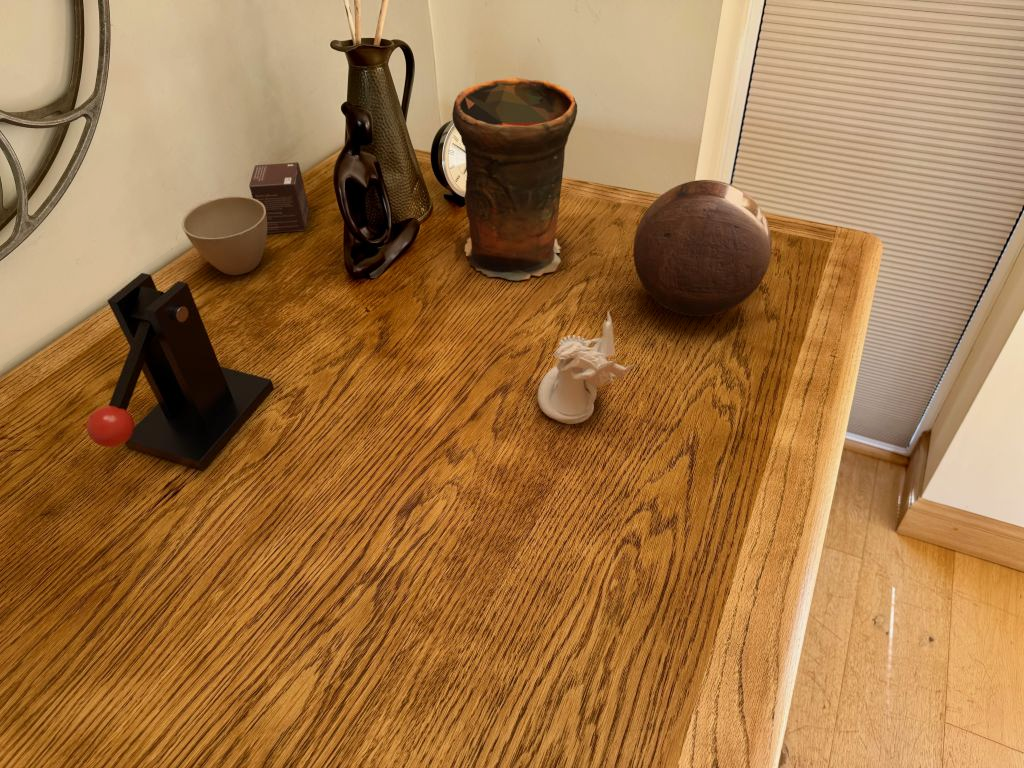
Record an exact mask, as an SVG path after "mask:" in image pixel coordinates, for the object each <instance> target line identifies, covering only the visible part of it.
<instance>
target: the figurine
mask: <svg viewBox="0 0 1024 768" xmlns="http://www.w3.org/2000/svg"><path fill="white" fill-rule="evenodd" d="M606 315H607V316H606V317H607V318H606V319H607V320H606V319H604V321H603V324H602V331H601V332H602V337H595V338H591V339H587V340H586V339H585V338H584V337H582V336H581V335H577V338H576V335H575V334H572V337H571V335H567V337H566V336H564V337H562V339H560V340H559V343H558V345H559V347H558V348H557V349H556V350H555V352H554V353H553V356H554V358H555V359H556V360H558V361H559V362H557V363H556V364H555V365H554V366H553V367H552V368H550V370H549V371H547V372H546V373H545V374H544V376H543V378H542V379H541V381H540V383H539V386H538V390H537V403H538V406H539V408H540V410H541V411H542V412H543V414H545V415H546V416H547V417H549V418H550V419H553V420H555V421H557V422H560V423H562V424H568V425H573V424H580V423H583V422H585V421H586V420H588V419H589V418H590V417H592V415H593V413H594V410H595V407H594V406H595V403H594V402H595V401H596V398H597V394H598V387H601V386H602V385H604V384H607V385H610V384H611V383H613V382H615V380H614V377H616V378H617V379H618V380H619V382H620V383H621V382H622V381H623V378H624V377H625V376H626V375H627V374H628V372H629V371H630V370H631V369H632V368H633V367H635V365H636V363H632V364H631V365H628V366H623V365H621V364H618V363H617V355H616V347H615V335H614V327H613V322H612V317H611V315H610V312H609V311H608V310H607V314H606ZM581 337H582V338H581ZM590 344H594V345H592V347H589V345H590ZM608 357H614V359H613V360H609V361H608V359H607V358H608Z"/></svg>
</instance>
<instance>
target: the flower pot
mask: <svg viewBox="0 0 1024 768" xmlns="http://www.w3.org/2000/svg"><path fill="white" fill-rule="evenodd" d="M181 228H182V230H183V232H184V234H185V236H186V237H187V238H188V240H189V242H190V243H191V244H192V246H193V247H194V249H195V250H196V251H197V252H198V253H199V255H201V256H202V258H204V260H206V261H207V262H208V263H209V264H210V265H211V266H213V267H214V268H215V269H217V270H218V271H220V272H221V273H223V274H226V275H229V276H239V275H244V274H248V273H250V272H251V271H253V270H255V269H256V268H258V266H259V264H260V263H261V261H262V258H263V255H264V252H265V248H266V243H267V238H268V233H267V216H266V209H265V206H264V205H263V204H262V203H261V202H260V201H258V200H256V199H254V198H252V197H250V196H246V195H245V196H244V195H229V196H221V197H217V198H212V199H209V200H206V201H204V202H202V203H199V204H198V205H195V206H194V207H192V208H191V209H190V210H189V211H188V212H186V214H185V215H184V216H183V218H182V220H181Z"/></svg>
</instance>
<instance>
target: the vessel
mask: <svg viewBox="0 0 1024 768" xmlns="http://www.w3.org/2000/svg"><path fill="white" fill-rule="evenodd" d="M577 114H578V104H577V101H576V98H575V97H574V96H573V95H572V93H571V92H570V91H568V90H567V89H566V88H564V87H563V86H560V85H559V84H555V83H551V82H550V81H548V80H539V79H534V80H529V79H526V78H525V79H524V78H520V77H513V78H504V79H493V80H490V81H485V82H482V83H479V84H475V85H472V86H470V87H468V88H465V89H463V90H462V91H461V92H459V93H458V95H457V96H456V98H455V101H454V102H453V108H452V115H451V116H452V123H453V125H454V127H455V129H456V131H457V132H458V134H459V136H460V139H461V143H462V145H463V146H464V150H465V151H464V152H465V168H466V179H465V193H464V203H465V213H466V215H467V218H468V223H469V225H468V226H469V236H470V237H469V238H468V239H466V243H465V245H464V252H465V256H466V257H468V258H467V259H468V260H470V261H469V262H468V265H470V266H472V267H473V268H474V269H475V270H476V271H477V272H480V271H481V274H483V275H486V278H487V277H488V278H489V277H492V278H493V277H494V278H495V277H499V278H501V279H504V280H505V279H506V280H510V281H523V280H529V279H531V278H530V277H531V276H535V277H541V276H542V275H543V274H547V273H553V272H556V270H557V268H558V266H559V265H560V264H561V258H560V257H559V256H558V255H557V254H558V253H559V254H561V251H560V250H561V249H562V246H560V245H559V244H558V238H556V234H557V228H558V227H557V226H558V219H559V214H560V213H559V212H560V204H561V203H560V202H561V193H562V185H563V176H564V175H563V174H564V166H565V154H566V153H565V152H566V146H567V143H568V140H569V136H570V133H571V131H572V129H573V127H574V124H575V122H576V118H577Z"/></svg>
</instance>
